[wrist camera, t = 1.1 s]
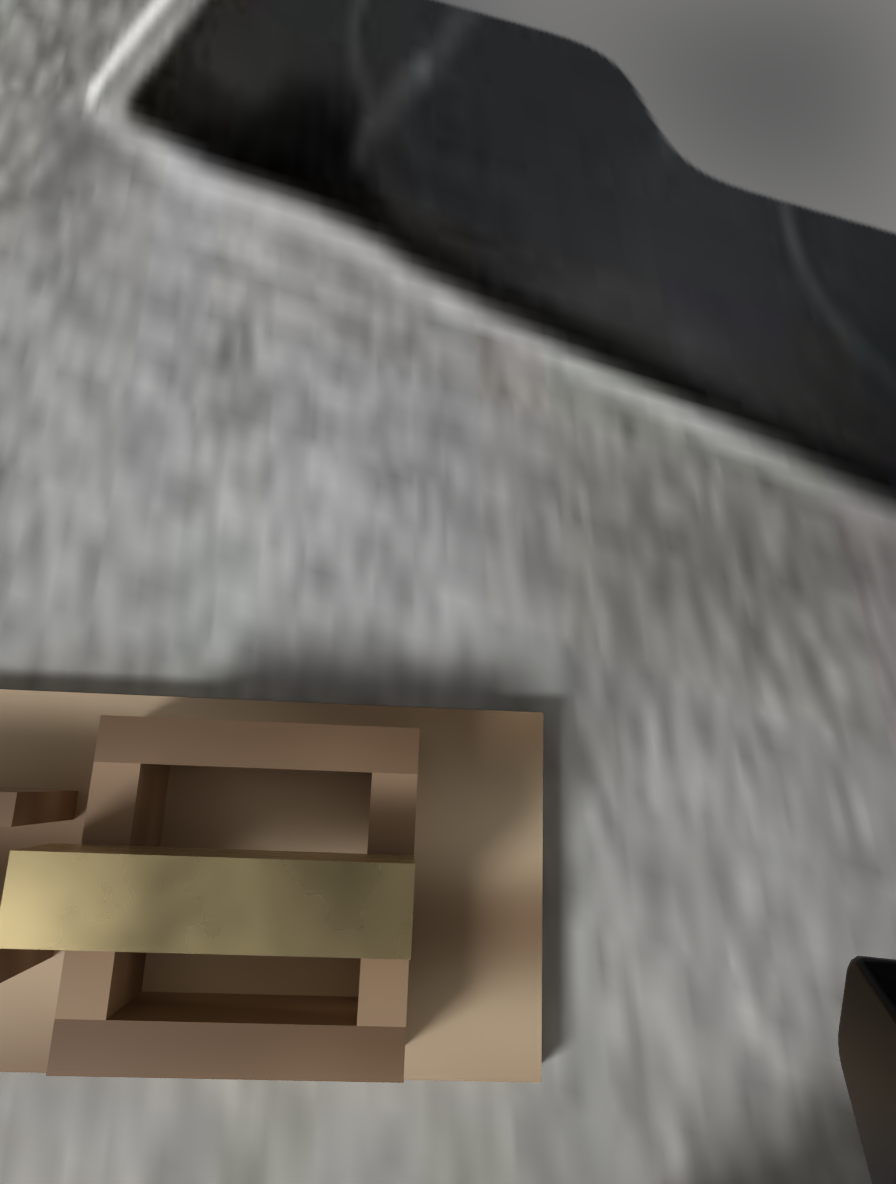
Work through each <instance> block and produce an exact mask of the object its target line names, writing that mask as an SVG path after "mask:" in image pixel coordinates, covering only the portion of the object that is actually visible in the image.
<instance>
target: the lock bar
mask: <svg viewBox="0 0 896 1184" xmlns="http://www.w3.org/2000/svg"><path fill="white" fill-rule="evenodd" d="M414 880H415V858H414V855H390V854H360V853H331V852H301V851H271V850H242V849H212V848H182V847H153V846H123V845H93V844H64V843H49V844H44V845H38V846H32V847H27V848H21V849H15V850H10V854H9V860H8V866H7V871H6V877H5V883H4V889H3V894H2V900H1V906H0V949H37V950H73V951H110V952H147V953H184V954H220V955H257V956H294V957H330V958H367V959H404V960H411V946H412V924H413V902H414Z"/></svg>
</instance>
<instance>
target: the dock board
mask: <svg viewBox="0 0 896 1184" xmlns="http://www.w3.org/2000/svg"><path fill="white" fill-rule="evenodd" d="M49 843H64V844H93V845H123V846H153V847H182V848H212V849H242V850H271V851H301V852H331V853H360V854H390V855H414V858H415V880H414V902H413V924H412V946H411V960H404V959H367V958H330V957H294V956H257V955H220V954H184V953H147V952H110V951H73V950H37V949H0V1072H37V1073H46V1076H90V1077H141V1078H192V1079H243V1080H294V1081H345V1082H396V1083H403V1082H404V1080H441V1081H492V1082H542V889H543V713H542V712H519V711H495V710H472V709H449V708H425V707H402V706H379V705H355V704H332V703H309V702H286V701H262V700H239V699H216V698H192V697H169V696H146V695H122V694H99V693H76V692H53V691H29V690H6V689H0V906H1V900H2V894H3V889H4V883H5V877H6V871H7V866H8V860H9V854H10V850H15V849H21V848H27V847H32V846H38V845H44V844H49Z"/></svg>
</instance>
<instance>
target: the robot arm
mask: <svg viewBox="0 0 896 1184" xmlns="http://www.w3.org/2000/svg"><path fill="white" fill-rule="evenodd" d="M838 1046H839V1055H840V1061H841V1066H842V1070H843V1073H844V1077H845V1081H846V1085H847V1089H848V1093H849V1097H850V1100H851V1104H852V1108H853V1112H854V1116H855V1120H856V1123H857V1127H858V1131H859V1135H860V1139H861V1143H862V1146H863V1150H864V1154H865V1158H866V1162H867V1166H868V1169H869V1173H870V1177H871V1181H872V1184H896V960H894V959H884V958H874V957H865V956H857V957H856V958H854V959H852V960H851V962H850V964H849V966H848V968H847V973H846V981H845V988H844V995H843V1002H842V1010H841V1017H840V1024H839V1033H838Z"/></svg>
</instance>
